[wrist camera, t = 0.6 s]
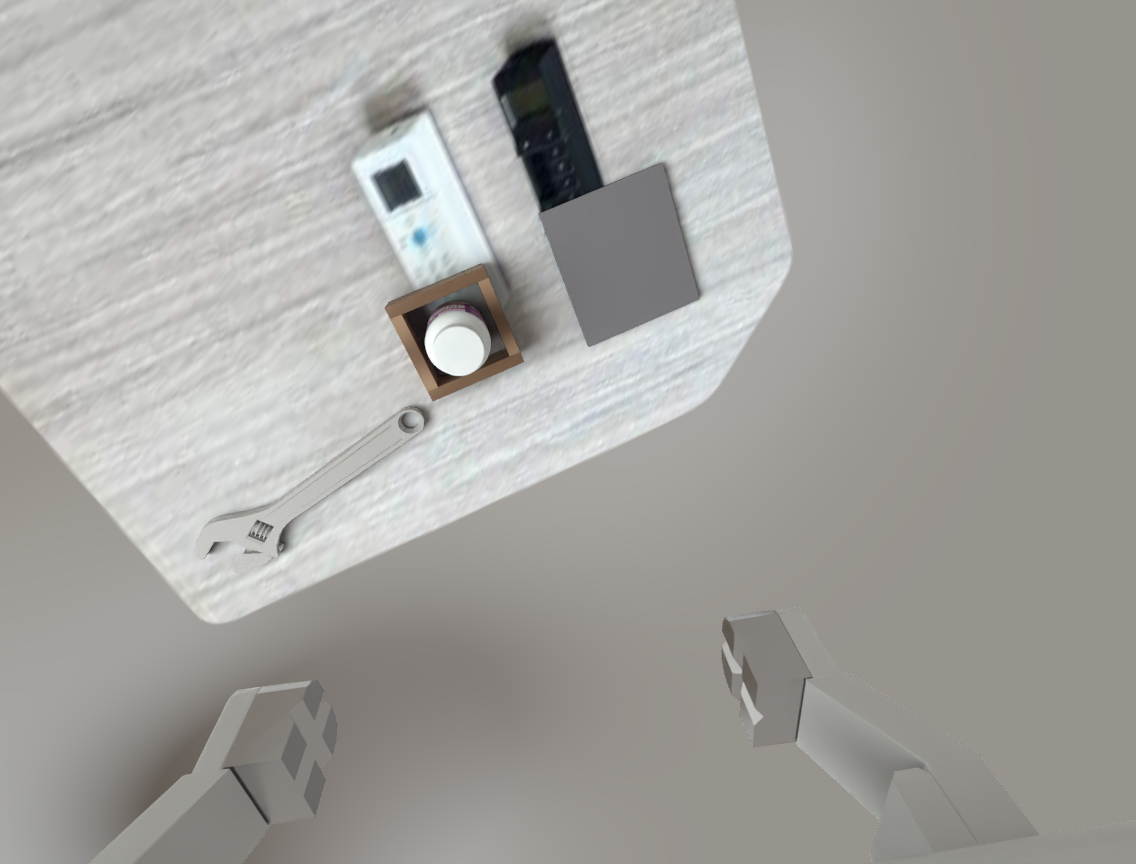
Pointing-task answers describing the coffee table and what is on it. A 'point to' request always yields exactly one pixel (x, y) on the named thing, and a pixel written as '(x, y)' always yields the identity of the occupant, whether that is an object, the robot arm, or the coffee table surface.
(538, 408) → the coffee table surface
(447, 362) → the pill bottle
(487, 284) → the walnut collar
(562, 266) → the charcoal mat
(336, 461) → the adjustable wrench
